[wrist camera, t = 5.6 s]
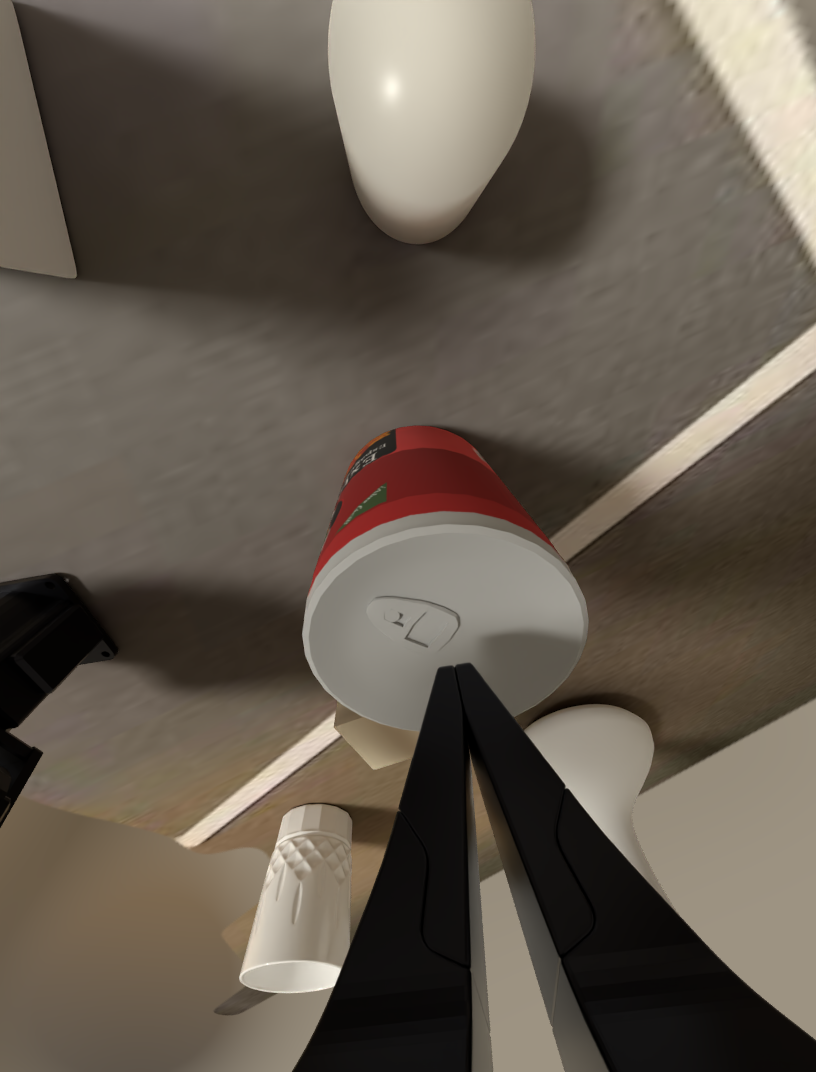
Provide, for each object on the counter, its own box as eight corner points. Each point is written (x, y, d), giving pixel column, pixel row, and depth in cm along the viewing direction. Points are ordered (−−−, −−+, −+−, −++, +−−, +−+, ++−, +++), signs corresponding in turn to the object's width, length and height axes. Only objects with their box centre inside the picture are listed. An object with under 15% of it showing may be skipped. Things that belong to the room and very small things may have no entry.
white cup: (304, 790, 33) (274, 955, 24) (374, 814, 36) (369, 971, 27) (261, 826, 36) (219, 986, 27) (328, 846, 38) (311, 997, 29)
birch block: (376, 701, 28) (373, 770, 23) (343, 659, 25) (333, 727, 21) (436, 679, 27) (446, 747, 22) (408, 634, 24) (412, 700, 20)
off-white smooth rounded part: (365, 256, 14) (355, 221, 10) (332, 70, 12) (299, -81, 8) (490, 230, 14) (535, 184, 10) (481, 37, 12) (536, -139, 7)
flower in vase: (648, 747, 32) (1205, 1626, 10) (526, 784, 34) (771, 1583, 12) (621, 655, 26) (1786, 2252, 4) (475, 707, 28) (772, 1972, 6)
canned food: (360, 401, 17) (324, 486, 7) (515, 445, 18) (653, 565, 9) (331, 539, 21) (282, 718, 11) (463, 567, 22) (522, 749, 12)
